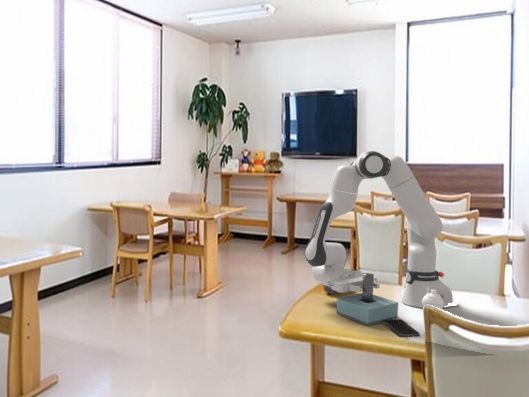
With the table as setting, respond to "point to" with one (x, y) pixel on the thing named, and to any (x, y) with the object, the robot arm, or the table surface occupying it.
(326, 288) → the tin
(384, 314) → the hole block
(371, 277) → the pin
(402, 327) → the phone
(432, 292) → the spinning top
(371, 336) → the table surface
